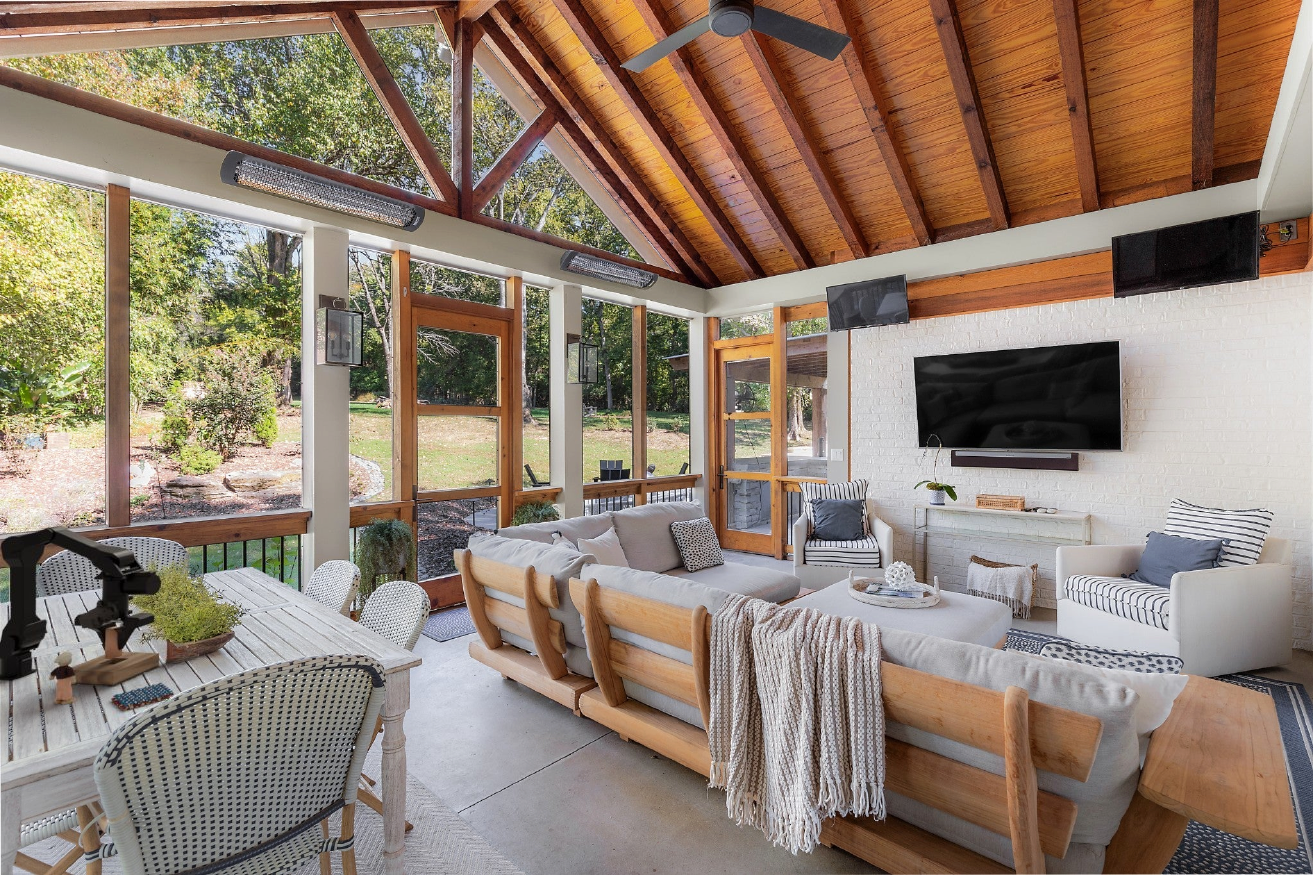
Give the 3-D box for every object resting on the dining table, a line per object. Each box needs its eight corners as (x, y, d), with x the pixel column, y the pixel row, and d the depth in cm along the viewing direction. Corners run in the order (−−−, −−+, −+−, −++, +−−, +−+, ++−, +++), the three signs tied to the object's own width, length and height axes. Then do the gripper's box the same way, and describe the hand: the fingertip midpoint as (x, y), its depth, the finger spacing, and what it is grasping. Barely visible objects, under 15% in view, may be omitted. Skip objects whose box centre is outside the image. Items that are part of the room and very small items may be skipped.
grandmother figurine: (85, 698, 153) (87, 649, 153) (71, 705, 149) (72, 655, 149) (55, 697, 152) (56, 649, 152) (39, 704, 149) (41, 654, 149)
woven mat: (109, 702, 152) (109, 694, 152) (161, 688, 161) (161, 681, 161) (122, 714, 146) (122, 705, 146) (174, 699, 155) (175, 691, 155)
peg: (113, 653, 169) (114, 626, 169) (125, 654, 169) (126, 626, 169) (101, 658, 165) (102, 630, 165) (113, 659, 165) (114, 630, 165)
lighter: (197, 654, 184) (198, 622, 184) (200, 657, 182) (201, 625, 182) (164, 661, 178) (165, 628, 178) (167, 664, 176) (168, 631, 176)
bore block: (64, 684, 160) (64, 669, 160) (113, 664, 174) (113, 651, 174) (113, 686, 160) (113, 671, 160) (158, 666, 174) (159, 653, 174)
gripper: (54, 600, 160) (52, 658, 159) (120, 603, 159) (118, 661, 159) (95, 590, 171) (93, 644, 171) (156, 593, 170) (155, 646, 170)
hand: (113, 649), depth 167 cm, fingers closed on peg, 4 cm apart
